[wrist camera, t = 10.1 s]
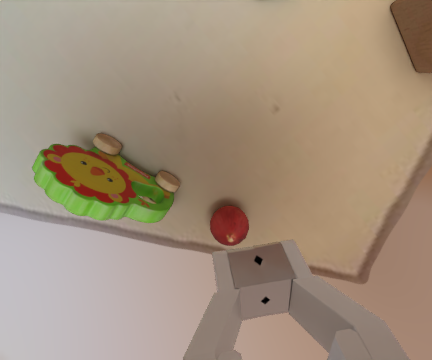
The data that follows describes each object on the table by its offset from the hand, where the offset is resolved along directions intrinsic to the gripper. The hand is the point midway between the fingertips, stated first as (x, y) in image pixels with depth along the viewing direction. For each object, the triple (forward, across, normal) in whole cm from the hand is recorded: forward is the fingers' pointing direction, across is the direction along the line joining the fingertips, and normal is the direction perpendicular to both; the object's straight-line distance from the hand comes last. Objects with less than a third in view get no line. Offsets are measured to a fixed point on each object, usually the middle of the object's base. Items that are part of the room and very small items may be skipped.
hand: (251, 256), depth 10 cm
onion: (+28, -3, +22) cm, 35 cm away
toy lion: (+31, +11, +12) cm, 35 cm away
